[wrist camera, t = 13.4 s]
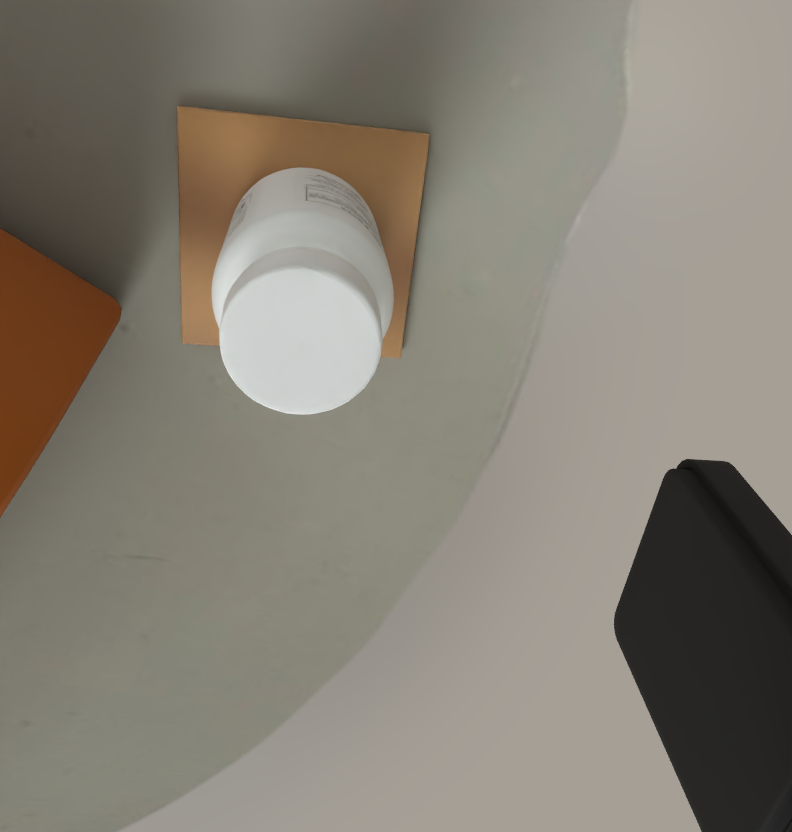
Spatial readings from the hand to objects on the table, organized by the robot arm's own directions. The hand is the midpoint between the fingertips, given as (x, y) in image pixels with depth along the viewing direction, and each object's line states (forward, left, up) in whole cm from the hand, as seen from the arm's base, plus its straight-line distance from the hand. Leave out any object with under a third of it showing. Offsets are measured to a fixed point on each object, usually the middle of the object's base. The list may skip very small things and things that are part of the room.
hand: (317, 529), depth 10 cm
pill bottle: (0, 0, -14) cm, 14 cm away
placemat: (0, 0, -15) cm, 15 cm away
